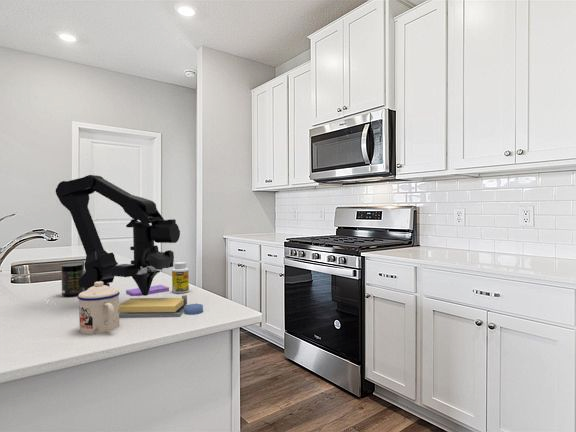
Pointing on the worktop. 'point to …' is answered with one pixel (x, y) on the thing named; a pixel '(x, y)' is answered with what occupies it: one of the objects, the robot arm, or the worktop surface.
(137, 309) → the cover
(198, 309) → the blue rounded dome
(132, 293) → the sponges
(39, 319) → the worktop surface
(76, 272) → the supplement container
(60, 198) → the robot arm
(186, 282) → the supplement bottle
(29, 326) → the worktop surface
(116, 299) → the teacup with lid
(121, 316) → the grey flanged channel
